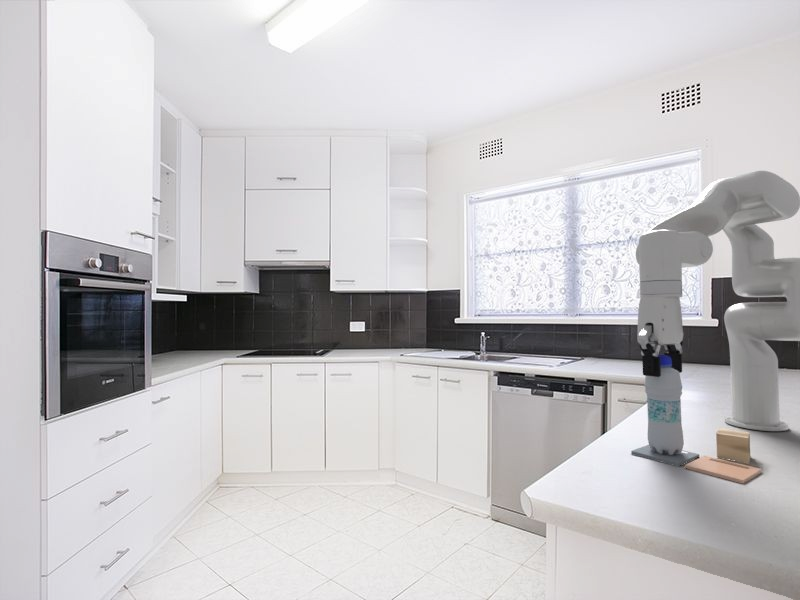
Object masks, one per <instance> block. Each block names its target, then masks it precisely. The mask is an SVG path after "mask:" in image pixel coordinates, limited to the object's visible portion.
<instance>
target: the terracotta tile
mask: <svg viewBox="0 0 800 600" xmlns="http://www.w3.org/2000/svg"><path fill="white" fill-rule="evenodd" d="M686 468H687V469H686ZM684 469H686V470H691V471H694V472H698V473H701V474H706V475H709V476H713V477H715V478H716V477H717V478H719V479H720V478H721V479H724V480H728V481H731V482H735V483H739V484H745V483H747V482H748V481H750V480H752V479H753V478H755V477H756V476H758V475H759V474H761V473H762V472H763V471H762V468H759V467H756V466H750V465H748V464H747V465H746V464H744V463H743V464H742V463H739V462H735V461H731V460H725V459H720V458H717V457H712V456H708V455H703V456H700V457H699V458H697V459H694V460H692V461H690V462H688V463H686V464H684Z"/></svg>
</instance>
